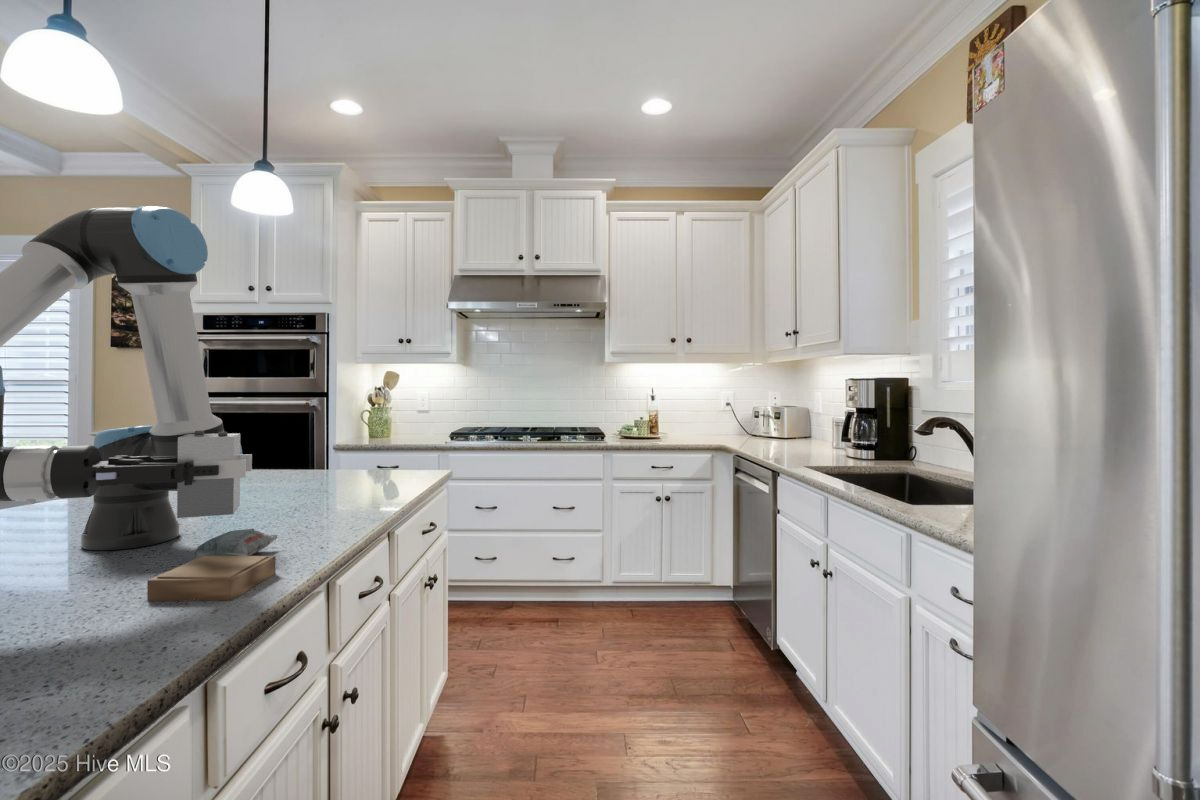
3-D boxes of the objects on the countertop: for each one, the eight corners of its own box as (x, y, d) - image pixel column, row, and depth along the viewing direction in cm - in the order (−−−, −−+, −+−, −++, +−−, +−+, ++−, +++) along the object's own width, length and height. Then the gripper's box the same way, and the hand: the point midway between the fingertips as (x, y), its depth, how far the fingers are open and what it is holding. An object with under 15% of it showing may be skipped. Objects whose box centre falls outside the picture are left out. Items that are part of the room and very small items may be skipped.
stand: (202, 573, 93) (202, 554, 93) (275, 573, 93) (275, 554, 93) (147, 600, 81) (147, 578, 81) (231, 600, 81) (231, 578, 81)
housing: (187, 508, 88) (188, 430, 88) (239, 505, 91) (240, 429, 91) (177, 518, 82) (177, 433, 81) (233, 514, 85) (234, 432, 85)
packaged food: (277, 549, 108) (277, 524, 108) (243, 569, 96) (243, 540, 96) (230, 550, 107) (230, 525, 107) (190, 570, 95) (190, 542, 95)
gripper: (85, 487, 87) (255, 479, 98) (24, 512, 69) (239, 499, 80) (86, 440, 87) (255, 437, 97) (24, 453, 69) (240, 448, 80)
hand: (248, 465), depth 89 cm, fingers closed on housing, 7 cm apart
